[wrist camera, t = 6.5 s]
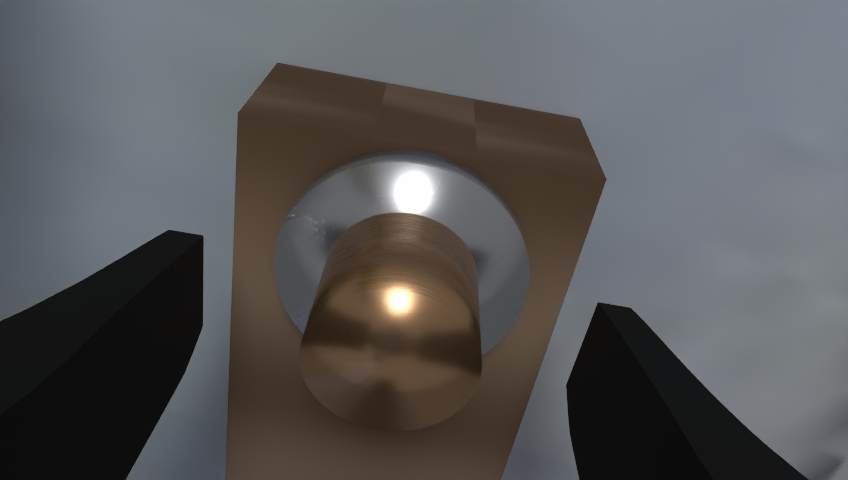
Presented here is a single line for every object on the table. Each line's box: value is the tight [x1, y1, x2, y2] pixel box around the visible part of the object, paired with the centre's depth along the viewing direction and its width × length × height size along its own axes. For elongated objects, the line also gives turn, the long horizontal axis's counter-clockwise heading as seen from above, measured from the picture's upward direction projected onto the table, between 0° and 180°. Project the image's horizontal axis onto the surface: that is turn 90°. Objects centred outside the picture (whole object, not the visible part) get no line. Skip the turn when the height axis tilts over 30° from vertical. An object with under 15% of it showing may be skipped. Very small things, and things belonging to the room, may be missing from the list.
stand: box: [226, 63, 606, 480], centre depth 18 cm, size 14×7×3 cm, turn 170°
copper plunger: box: [274, 149, 530, 431], centre depth 14 cm, size 5×5×6 cm
